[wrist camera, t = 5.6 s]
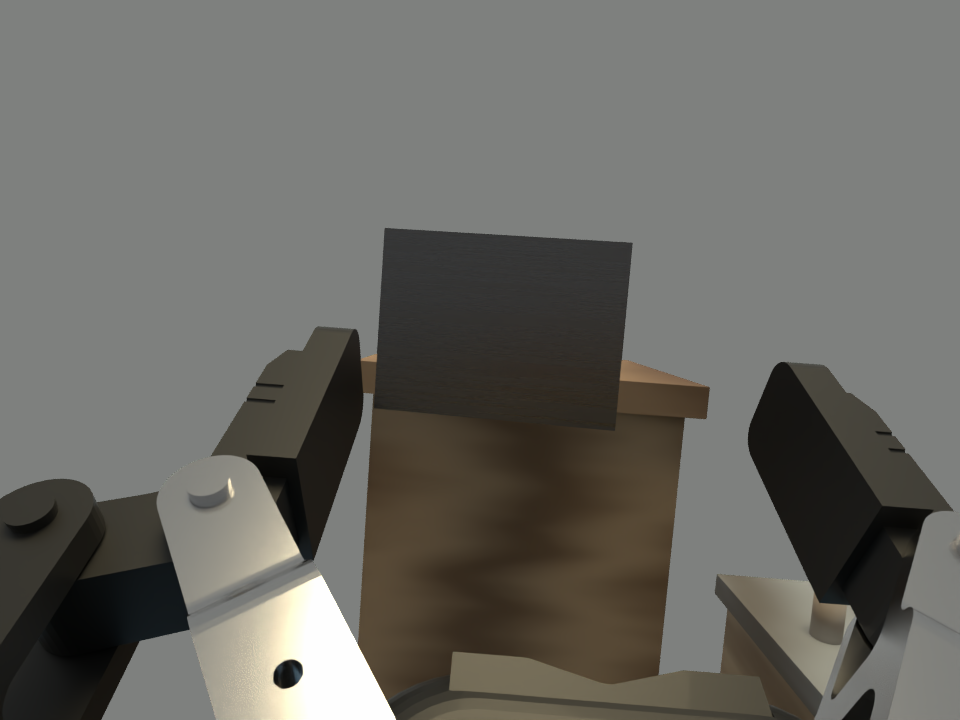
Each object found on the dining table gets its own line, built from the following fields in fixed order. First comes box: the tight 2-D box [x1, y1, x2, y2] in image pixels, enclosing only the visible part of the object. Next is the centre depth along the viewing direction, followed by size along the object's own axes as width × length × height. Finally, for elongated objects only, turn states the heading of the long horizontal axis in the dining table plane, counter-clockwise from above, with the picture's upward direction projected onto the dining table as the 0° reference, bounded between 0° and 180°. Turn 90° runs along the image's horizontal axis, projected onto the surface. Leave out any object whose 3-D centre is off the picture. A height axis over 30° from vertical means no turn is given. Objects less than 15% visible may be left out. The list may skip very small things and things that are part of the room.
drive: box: [374, 228, 632, 431], centre depth 20 cm, size 4×22×3 cm, turn 173°
